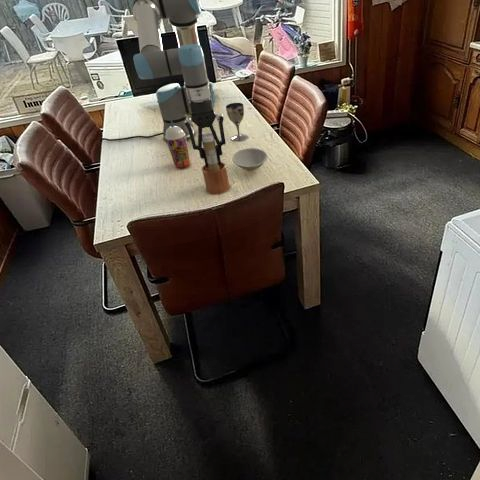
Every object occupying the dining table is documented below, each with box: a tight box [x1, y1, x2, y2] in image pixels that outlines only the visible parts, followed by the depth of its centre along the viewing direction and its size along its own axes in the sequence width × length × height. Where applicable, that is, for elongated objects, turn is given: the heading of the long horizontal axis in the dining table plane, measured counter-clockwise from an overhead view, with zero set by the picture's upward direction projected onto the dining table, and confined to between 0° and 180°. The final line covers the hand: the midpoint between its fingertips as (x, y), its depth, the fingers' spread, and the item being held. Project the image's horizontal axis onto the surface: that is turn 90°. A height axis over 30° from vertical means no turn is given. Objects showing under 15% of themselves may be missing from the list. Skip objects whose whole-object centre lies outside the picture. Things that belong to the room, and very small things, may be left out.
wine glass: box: [225, 102, 247, 142], centre depth 180 cm, size 8×8×15 cm
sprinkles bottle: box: [202, 132, 220, 172], centre depth 140 cm, size 5×5×13 cm
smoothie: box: [165, 119, 191, 170], centre depth 160 cm, size 8×8×20 cm
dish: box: [231, 147, 268, 171], centre depth 158 cm, size 18×14×5 cm
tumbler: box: [201, 161, 230, 195], centre depth 146 cm, size 9×9×9 cm
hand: (213, 164), depth 143 cm, fingers closed on sprinkles bottle, 4 cm apart
